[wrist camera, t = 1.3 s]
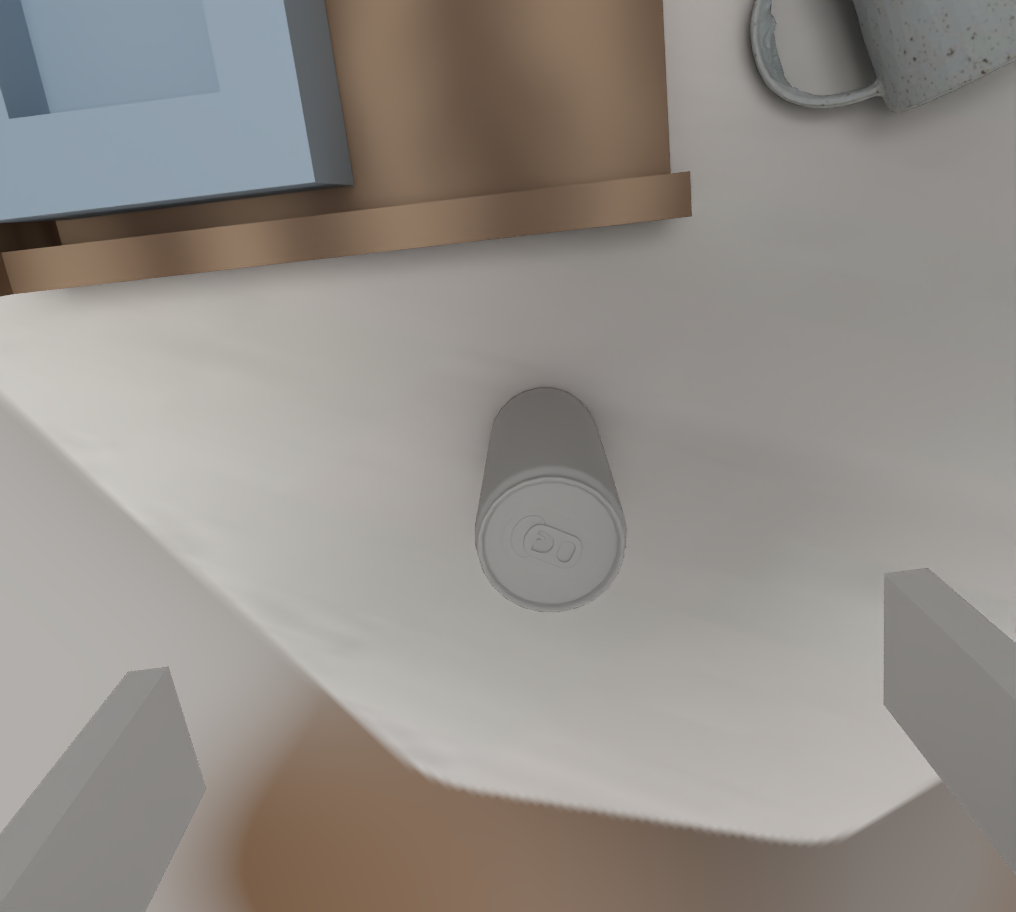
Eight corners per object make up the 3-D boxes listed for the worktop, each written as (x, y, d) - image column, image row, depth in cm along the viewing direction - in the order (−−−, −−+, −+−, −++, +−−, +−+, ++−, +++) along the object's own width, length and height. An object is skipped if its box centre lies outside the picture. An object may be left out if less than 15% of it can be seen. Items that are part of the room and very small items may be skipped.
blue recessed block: (291, -206, 28) (229, -312, 22) (354, 185, 32) (315, 182, 26) (-37, -157, 28) (-180, -247, 23) (64, 220, 32) (-36, 224, 27)
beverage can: (515, 367, 35) (508, 448, 23) (615, 409, 35) (656, 508, 24) (475, 463, 36) (449, 584, 25) (571, 502, 37) (590, 637, 25)
